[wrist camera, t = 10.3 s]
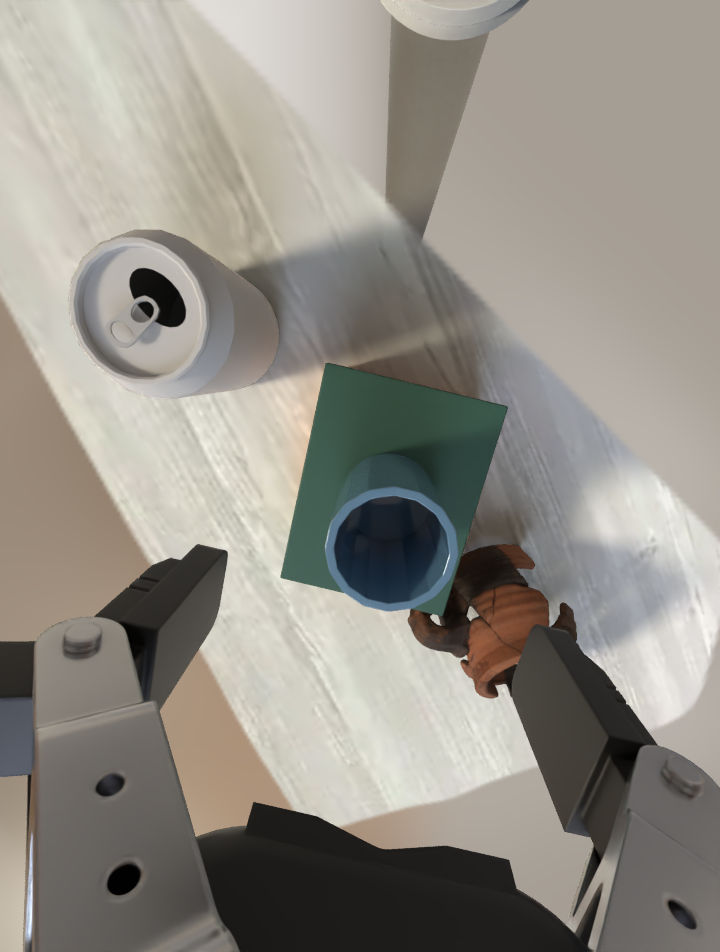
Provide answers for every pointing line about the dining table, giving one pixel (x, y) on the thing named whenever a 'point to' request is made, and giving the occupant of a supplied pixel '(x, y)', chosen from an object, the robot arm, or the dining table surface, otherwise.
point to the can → (169, 317)
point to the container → (388, 431)
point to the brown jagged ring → (489, 616)
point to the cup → (390, 535)
